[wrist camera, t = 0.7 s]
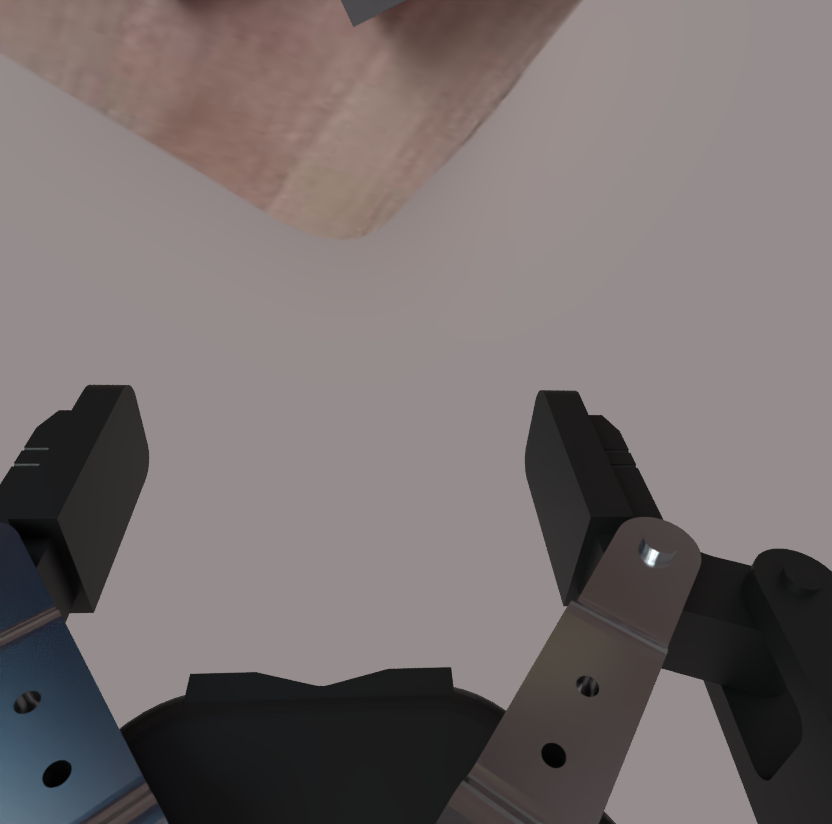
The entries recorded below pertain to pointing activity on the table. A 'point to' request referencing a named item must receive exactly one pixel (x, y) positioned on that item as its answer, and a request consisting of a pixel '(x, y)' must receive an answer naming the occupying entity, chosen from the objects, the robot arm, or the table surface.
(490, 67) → the table surface
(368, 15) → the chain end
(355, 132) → the table surface
